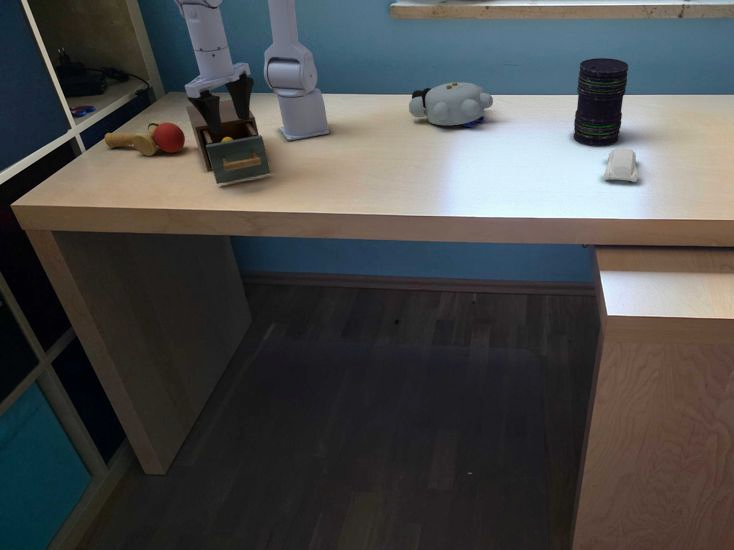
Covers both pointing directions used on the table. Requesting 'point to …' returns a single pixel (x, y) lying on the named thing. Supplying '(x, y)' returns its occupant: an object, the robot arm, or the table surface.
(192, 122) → the cabinet
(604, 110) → the storage jar
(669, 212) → the table surface
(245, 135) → the drawer
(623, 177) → the white toy car
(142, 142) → the kendama
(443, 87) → the figurine
